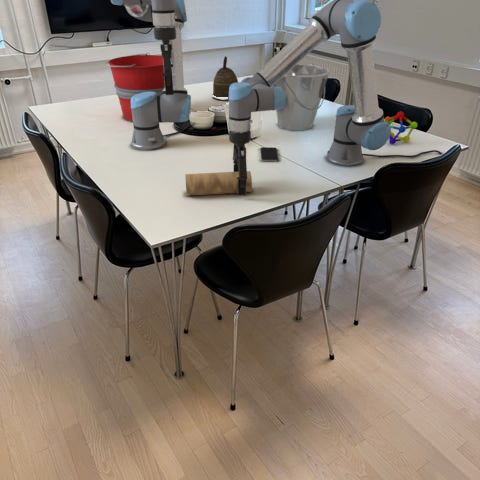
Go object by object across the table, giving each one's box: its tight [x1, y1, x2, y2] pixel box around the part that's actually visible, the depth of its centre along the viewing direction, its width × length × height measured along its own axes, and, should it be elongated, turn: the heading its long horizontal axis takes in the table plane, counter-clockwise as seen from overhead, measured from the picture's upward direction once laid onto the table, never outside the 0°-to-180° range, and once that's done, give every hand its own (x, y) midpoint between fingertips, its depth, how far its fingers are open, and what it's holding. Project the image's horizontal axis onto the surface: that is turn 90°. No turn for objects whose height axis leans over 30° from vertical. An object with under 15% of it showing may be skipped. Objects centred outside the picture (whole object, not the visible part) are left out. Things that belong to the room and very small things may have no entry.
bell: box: [212, 56, 239, 97], centre depth 278 cm, size 19×26×20 cm
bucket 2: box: [273, 63, 330, 131], centre depth 226 cm, size 30×30×28 cm
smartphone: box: [260, 146, 279, 162], centre depth 196 cm, size 7×1×15 cm
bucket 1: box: [105, 52, 165, 123], centre depth 239 cm, size 35×35×30 cm
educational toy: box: [384, 110, 418, 145], centre depth 207 cm, size 16×13×15 cm
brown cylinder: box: [184, 170, 253, 197], centre depth 162 cm, size 24×8×8 cm, turn 98°
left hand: (169, 90), depth 163 cm, fingers open, 13 cm apart
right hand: (239, 187), depth 164 cm, fingers open, 12 cm apart
